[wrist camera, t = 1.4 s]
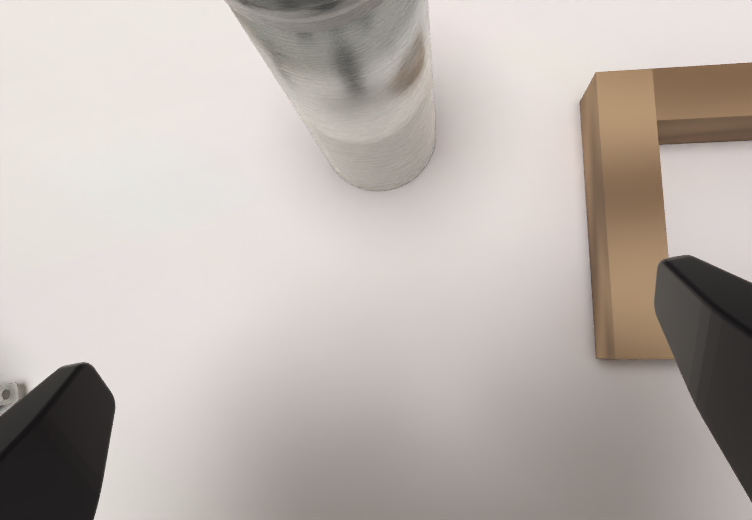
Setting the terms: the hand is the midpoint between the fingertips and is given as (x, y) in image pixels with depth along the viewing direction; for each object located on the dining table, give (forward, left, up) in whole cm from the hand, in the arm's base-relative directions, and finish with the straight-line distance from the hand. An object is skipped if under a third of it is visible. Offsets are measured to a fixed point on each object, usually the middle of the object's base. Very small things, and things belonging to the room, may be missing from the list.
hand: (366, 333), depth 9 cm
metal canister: (+8, +1, -13) cm, 16 cm away
